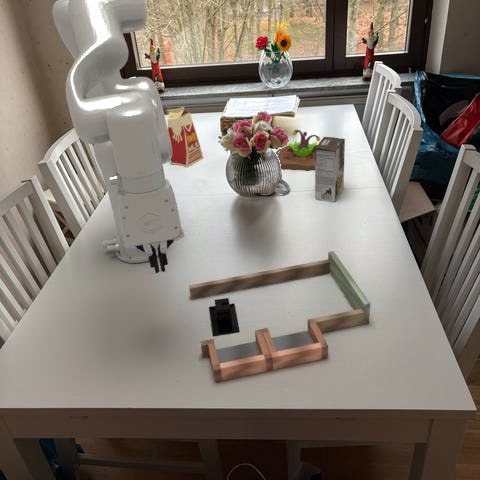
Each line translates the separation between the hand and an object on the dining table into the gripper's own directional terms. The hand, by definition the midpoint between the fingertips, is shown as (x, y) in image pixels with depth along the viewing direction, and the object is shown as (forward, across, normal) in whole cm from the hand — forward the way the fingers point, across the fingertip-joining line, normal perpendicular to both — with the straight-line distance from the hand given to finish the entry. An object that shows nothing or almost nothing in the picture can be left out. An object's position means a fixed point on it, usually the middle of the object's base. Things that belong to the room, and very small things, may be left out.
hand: (160, 268), depth 92 cm
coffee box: (+15, +51, +46) cm, 70 cm away
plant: (+16, +52, +74) cm, 92 cm away
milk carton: (+15, +13, +89) cm, 91 cm away
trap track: (+15, +22, -3) cm, 27 cm away
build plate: (+16, +11, 0) cm, 19 cm away
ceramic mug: (+15, +36, +55) cm, 67 cm away
